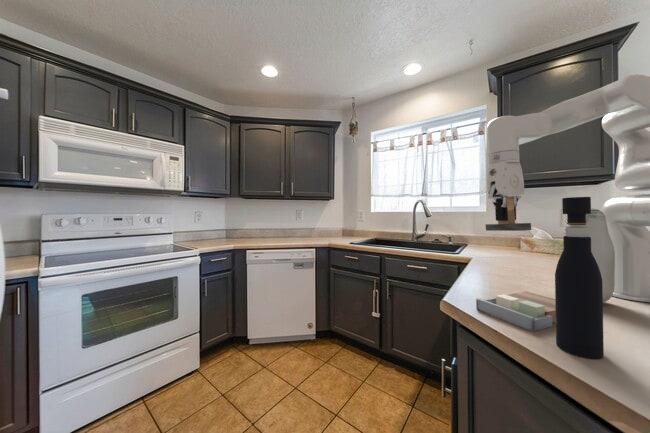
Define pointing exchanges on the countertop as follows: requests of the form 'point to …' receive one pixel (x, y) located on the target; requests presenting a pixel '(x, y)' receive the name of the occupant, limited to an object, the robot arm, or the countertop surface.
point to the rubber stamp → (509, 221)
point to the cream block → (508, 302)
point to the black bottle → (578, 287)
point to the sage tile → (531, 309)
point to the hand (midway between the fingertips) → (505, 219)
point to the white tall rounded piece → (601, 249)
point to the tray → (513, 315)
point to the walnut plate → (538, 302)
